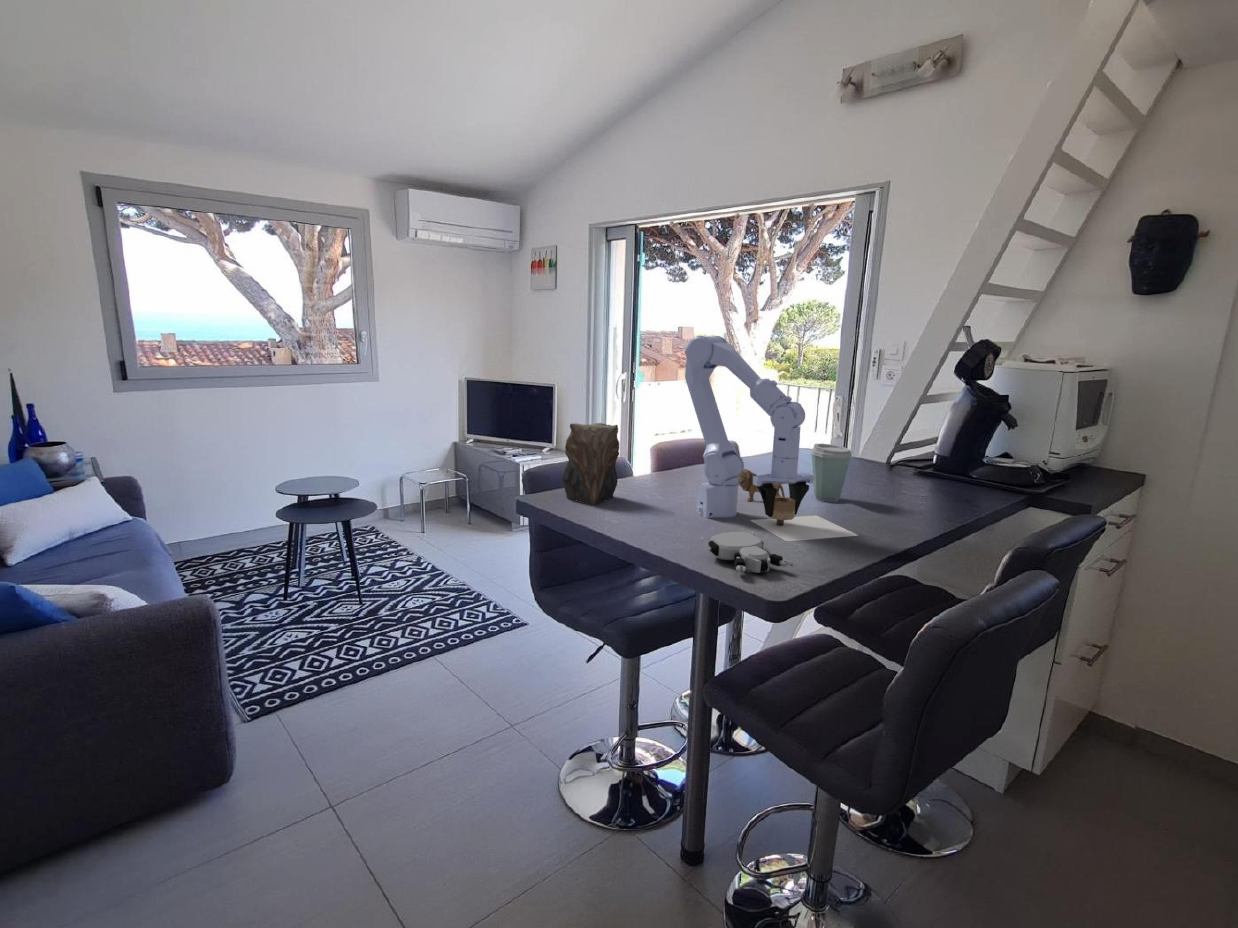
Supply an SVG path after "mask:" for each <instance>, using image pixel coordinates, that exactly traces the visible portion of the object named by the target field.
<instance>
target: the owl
mask: <svg viewBox="0 0 1238 928" xmlns="http://www.w3.org/2000/svg"><path fill="white" fill-rule="evenodd" d="M569 428H570V433H569V435H568V437H567V438H566V441H565V446H564V449H565V451H564V454H565V455H566V457H567V463H566V465H565V466H564V471H563V473H562V476H561V480H562V485H563V488H564V492H565V494H566V496H565V498H566V497H567V498H569V499H568V500H571V499H574V500H577V501H576V502H578V501H581V502H580V503H582V502H583V504H584V503H586V504H585V505H589V504H590V506H593V505H596V506H597V504H598V505H600V504H602V503H604V502H606V501H605V500H607V501H608V500H610V499H609V498H611V499H613V498H614V493H615V492H616V491H615V490H616V489H617V486H618V474H617V470H616V464H617V460H618V457H619V456H620V451H619V450H620V441H619V439H618V433H619V425H617V424H614V425H611V424H606V423H602V422H598V423H597V422H596V423H593V424H588V423H587V424H581V423H570V424H569ZM612 497H613V498H612ZM567 498H566V499H567ZM574 500H573V501H574ZM603 501H604V502H603ZM601 502H602V503H601ZM599 503H600V504H599Z"/></svg>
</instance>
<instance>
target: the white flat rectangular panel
mask: <svg viewBox="0 0 1238 928" xmlns="http://www.w3.org/2000/svg"><path fill="white" fill-rule="evenodd" d="M750 521H751V522H753V523H754V524H756V525H758V526H759V527H761V528H762V529H764V530H766V531H768V532H770V534H771V533H772V534H773V535H774V536H777V537H778V538H780V539H782V540H784V541H785V542H796V541H809V540H822V539H833V538H843V537H855V536H856V537H857V536H859V534H857V533H854V532H852V531H850V530H849V529H846V528H844V527H841V526H840V525H838V524H836V523H833V522H831V521H829V520H827V519H824V518H822V517H821V516H818V515H815V514H814V515H802V516H794V518H793V519H792V520H784V525H783V526H778V525H777V519H772V518H761V519H760V518H758V519H750Z"/></svg>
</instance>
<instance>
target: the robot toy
mask: <svg viewBox="0 0 1238 928" xmlns="http://www.w3.org/2000/svg"><path fill="white" fill-rule="evenodd" d="M700 539H701V541H702V542H703V543H704V544H705V546H706V547H707V551H709V553H712V554H713V555H714V556H716V557H717V558H718V559H720V560H721V561H733V562H734V567H735V568H734V569H735V571H737V572H744V573H745V572H747V573H757V574H758V573H759V574H760V573H761V572H762V573H763V572H769V571H770V567H771V566H770V565H772V566H776V567H787V566H789V565H790V561H789V560H787V559H783V556H782V555H779V554H776V553H770V554H769V553H768V551H766V550H764V544H765V543H764V541H763V540H762V539H760V538H759V537H758V536H757V535H756V534H755V532H754V531H751V533H750V532H746V531H730V532H729V531H727V532H726V531H725V532H721V533H717V534H715V535H713V536H711V537H710V538H709V541H708V542H706V540H705V539H704V537H703V536H700Z"/></svg>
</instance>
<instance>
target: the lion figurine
mask: <svg viewBox="0 0 1238 928" xmlns="http://www.w3.org/2000/svg"><path fill="white" fill-rule="evenodd" d="M753 476H758V475H757V474H756V473H754V472H752V471H751V470H749V469H748V468H744V470H743V472H742V474H741V475H740V476H739V477H738V480H739V483H738V487H741V489H742V490H743V491H745V492H748V494H749V495H748V496H749V497H748V498H747V501H746V502H747V503H753V502H754V495H755V493H759V494H760V492H759V490H758V488H757V486H756V485H753ZM773 486H774V488H775V489H777V490H778V491H777V493H776V496H775V497H786V495H785V491H784V487H783V484H774V485H773ZM780 491H781V495H782V496H781V495H780Z"/></svg>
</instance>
